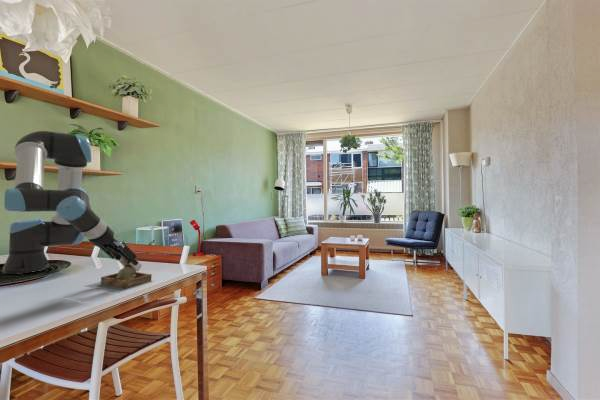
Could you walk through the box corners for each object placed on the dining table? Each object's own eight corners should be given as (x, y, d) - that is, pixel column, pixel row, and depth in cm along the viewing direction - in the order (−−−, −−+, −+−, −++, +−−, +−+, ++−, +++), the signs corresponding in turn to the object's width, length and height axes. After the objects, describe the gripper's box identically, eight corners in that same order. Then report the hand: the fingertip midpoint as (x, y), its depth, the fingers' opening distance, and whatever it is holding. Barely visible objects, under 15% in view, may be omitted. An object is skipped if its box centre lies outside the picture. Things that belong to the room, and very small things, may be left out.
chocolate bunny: (139, 277, 118) (140, 253, 118) (116, 280, 113) (117, 255, 113) (135, 274, 122) (136, 251, 122) (114, 277, 117) (115, 253, 117)
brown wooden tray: (100, 284, 114) (101, 277, 114) (127, 277, 125) (127, 270, 125) (126, 288, 110) (126, 281, 110) (151, 281, 121) (151, 274, 121)
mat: (84, 287, 111) (84, 286, 111) (122, 276, 126) (122, 276, 126) (118, 293, 105) (118, 292, 105) (153, 282, 120) (153, 281, 120)
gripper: (73, 238, 106) (114, 273, 121) (107, 242, 100) (145, 278, 116) (88, 223, 111) (125, 258, 126) (121, 226, 105) (156, 262, 121)
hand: (135, 267), depth 121 cm, fingers closed on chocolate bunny, 4 cm apart
